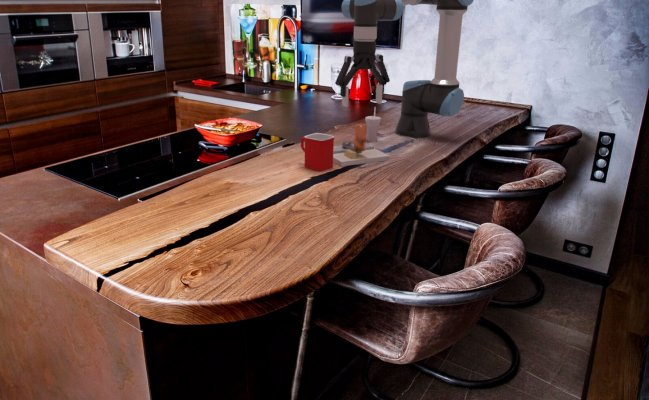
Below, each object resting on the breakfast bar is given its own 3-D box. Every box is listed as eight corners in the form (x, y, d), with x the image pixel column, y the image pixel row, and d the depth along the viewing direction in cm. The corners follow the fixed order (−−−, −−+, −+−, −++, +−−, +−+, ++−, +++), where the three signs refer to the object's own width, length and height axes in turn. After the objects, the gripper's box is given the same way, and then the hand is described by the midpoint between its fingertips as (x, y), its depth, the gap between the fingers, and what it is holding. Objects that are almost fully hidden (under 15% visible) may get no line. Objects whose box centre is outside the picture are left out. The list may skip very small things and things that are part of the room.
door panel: (374, 152, 187) (375, 143, 186) (389, 159, 179) (390, 149, 177) (328, 158, 178) (328, 148, 177) (341, 166, 170) (342, 155, 169)
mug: (335, 166, 170) (336, 136, 166) (320, 172, 164) (321, 141, 160) (308, 159, 177) (309, 130, 173) (293, 164, 170) (293, 134, 167)
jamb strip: (365, 148, 192) (365, 142, 192) (373, 152, 187) (374, 146, 187) (319, 154, 184) (320, 147, 183) (327, 158, 179) (327, 151, 178)
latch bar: (339, 146, 184) (340, 119, 180) (348, 145, 186) (349, 118, 182) (357, 155, 173) (359, 126, 170) (367, 154, 175) (368, 125, 172)
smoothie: (378, 143, 201) (380, 109, 196) (363, 142, 202) (364, 108, 197) (380, 139, 207) (382, 106, 201) (364, 138, 208) (366, 105, 203)
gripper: (389, 38, 170) (386, 100, 178) (326, 40, 160) (325, 105, 167) (402, 40, 164) (398, 103, 172) (337, 41, 153) (335, 109, 161)
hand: (362, 104), depth 170 cm, fingers open, 13 cm apart
